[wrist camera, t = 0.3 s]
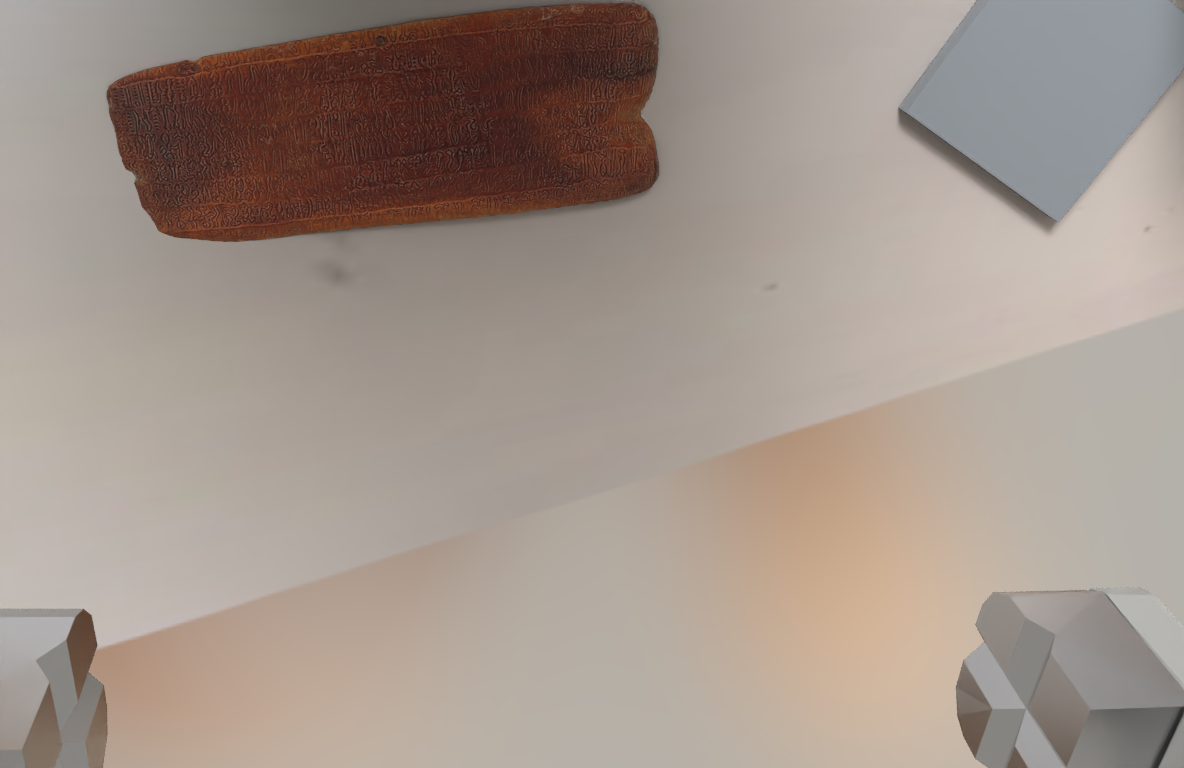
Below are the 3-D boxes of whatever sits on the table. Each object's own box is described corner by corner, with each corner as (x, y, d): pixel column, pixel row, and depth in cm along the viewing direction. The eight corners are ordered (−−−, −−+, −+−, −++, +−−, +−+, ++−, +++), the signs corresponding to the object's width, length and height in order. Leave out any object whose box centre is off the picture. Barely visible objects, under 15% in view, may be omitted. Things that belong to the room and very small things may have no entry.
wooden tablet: (651, -9, 55) (659, -4, 54) (660, 187, 60) (667, 196, 58) (93, 49, 52) (85, 57, 51) (149, 251, 57) (142, 262, 55)
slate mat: (898, 107, 59) (906, 112, 58) (1050, -99, 56) (1060, -97, 55) (1049, 216, 64) (1058, 222, 63) (1198, 32, 60) (1210, 36, 59)
